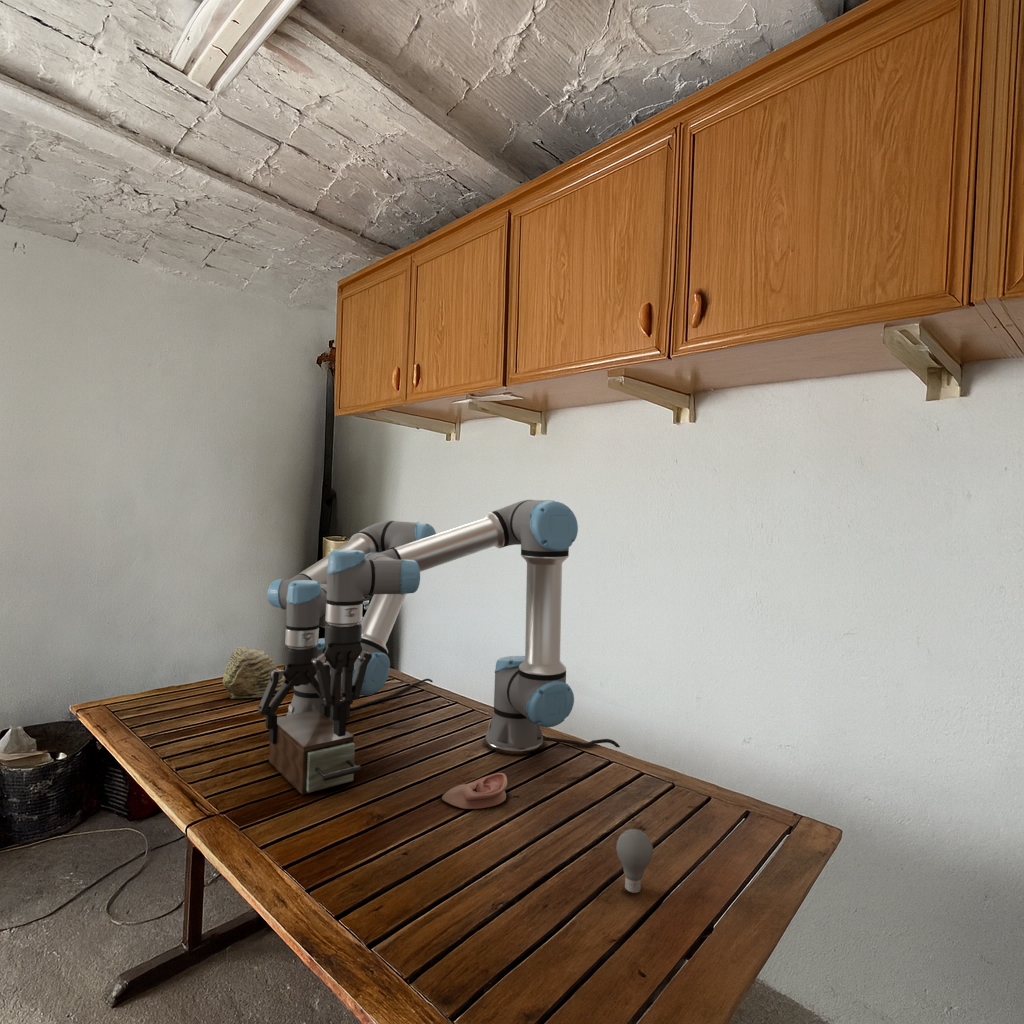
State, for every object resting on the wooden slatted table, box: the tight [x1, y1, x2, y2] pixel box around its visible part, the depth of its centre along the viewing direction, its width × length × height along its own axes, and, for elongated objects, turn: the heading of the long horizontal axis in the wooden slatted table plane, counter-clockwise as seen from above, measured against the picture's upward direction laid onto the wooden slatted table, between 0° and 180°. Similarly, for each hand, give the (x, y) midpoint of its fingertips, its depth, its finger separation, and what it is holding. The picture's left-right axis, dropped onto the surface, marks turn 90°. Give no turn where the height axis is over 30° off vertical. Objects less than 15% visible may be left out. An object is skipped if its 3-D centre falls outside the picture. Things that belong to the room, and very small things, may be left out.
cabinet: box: [268, 710, 355, 796], centre depth 146 cm, size 21×11×10 cm, turn 40°
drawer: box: [306, 742, 362, 794], centre depth 142 cm, size 25×10×8 cm, turn 40°
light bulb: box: [615, 828, 654, 894], centre depth 106 cm, size 6×6×10 cm
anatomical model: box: [441, 772, 508, 810], centre depth 136 cm, size 13×4×12 cm
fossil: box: [222, 646, 285, 699], centre depth 198 cm, size 9×18×15 cm, turn 132°
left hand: (298, 736), depth 151 cm, fingers closed on cabinet, 11 cm apart
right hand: (339, 733), depth 134 cm, fingers closed
